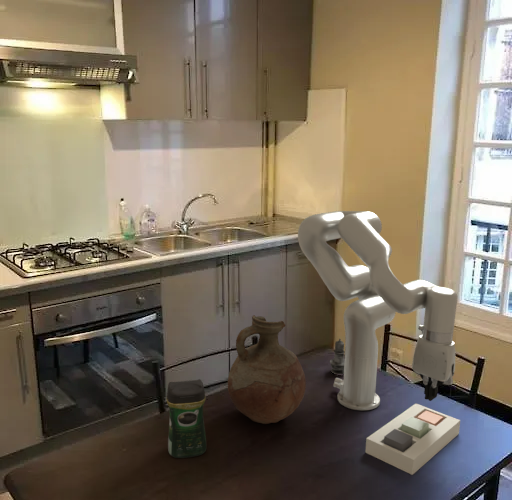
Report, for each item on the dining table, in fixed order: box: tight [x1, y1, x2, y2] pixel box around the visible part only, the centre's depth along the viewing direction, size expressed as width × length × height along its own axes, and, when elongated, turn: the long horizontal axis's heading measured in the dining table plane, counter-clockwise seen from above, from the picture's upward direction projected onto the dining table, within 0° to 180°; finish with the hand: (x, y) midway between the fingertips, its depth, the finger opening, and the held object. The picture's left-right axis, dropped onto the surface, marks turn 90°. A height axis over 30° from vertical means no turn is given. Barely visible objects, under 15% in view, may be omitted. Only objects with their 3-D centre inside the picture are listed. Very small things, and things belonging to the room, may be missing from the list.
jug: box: [227, 314, 307, 425], centre depth 152 cm, size 22×22×30 cm
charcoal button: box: [384, 429, 413, 452], centre depth 137 cm, size 5×5×2 cm
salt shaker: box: [329, 338, 345, 374], centre depth 184 cm, size 6×6×12 cm
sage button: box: [401, 417, 429, 439], centre depth 143 cm, size 5×5×2 cm
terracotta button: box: [417, 411, 443, 426], centre depth 150 cm, size 5×5×2 cm
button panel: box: [365, 403, 461, 476], centre depth 144 cm, size 13×26×4 cm, turn 136°
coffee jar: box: [165, 378, 207, 459], centre depth 137 cm, size 10×8×19 cm
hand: (430, 398), depth 148 cm, fingers closed
